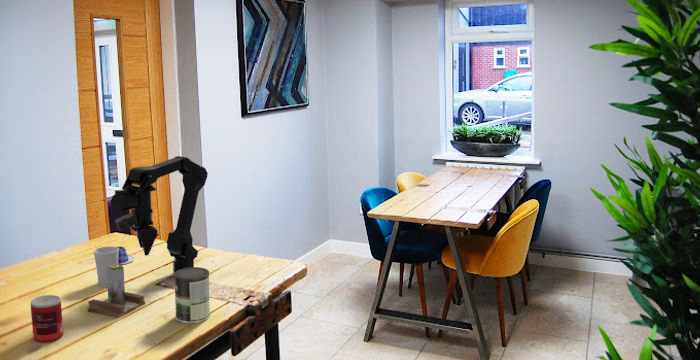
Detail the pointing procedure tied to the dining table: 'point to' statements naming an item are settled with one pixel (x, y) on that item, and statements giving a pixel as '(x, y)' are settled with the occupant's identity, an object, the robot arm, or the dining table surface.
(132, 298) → the cradle
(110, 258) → the cup
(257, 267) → the dining table surface
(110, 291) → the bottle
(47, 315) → the canned food
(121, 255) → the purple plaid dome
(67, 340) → the dining table surface
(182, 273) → the coffee can
